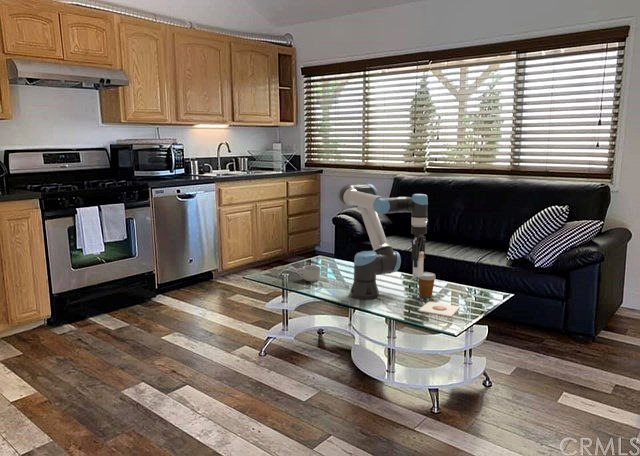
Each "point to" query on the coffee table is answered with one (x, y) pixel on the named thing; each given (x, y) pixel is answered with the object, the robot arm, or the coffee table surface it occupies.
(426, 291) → the disposable coffee cup
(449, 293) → the coffee table surface
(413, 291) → the coffee table surface
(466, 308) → the coffee table surface
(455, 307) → the card
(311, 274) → the teacup
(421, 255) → the plastic tube
